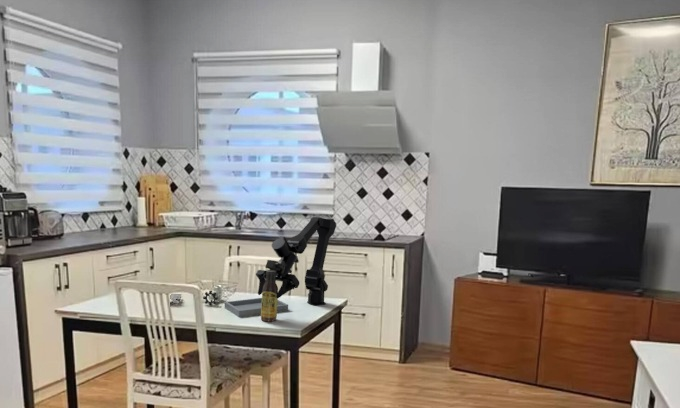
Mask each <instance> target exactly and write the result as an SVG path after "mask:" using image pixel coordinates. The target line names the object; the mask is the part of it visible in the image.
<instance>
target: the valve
mask: <svg viewBox="0 0 680 408" xmlns="http://www.w3.org/2000/svg"><path fill="white" fill-rule="evenodd" d="M204 295H205V296H203V297H202V300H205V301H204V304H205V305H207V304H208V306H212V305H216V304H217V302H222V301H223V300H222V299H223V285H214V286H213V291H212V290H209V293H208V292H207V291H205V292H204ZM213 300H214V301H213Z"/></svg>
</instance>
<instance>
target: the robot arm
mask: <svg viewBox="0 0 680 408" xmlns="http://www.w3.org/2000/svg"><path fill="white" fill-rule="evenodd" d="M336 228H337V222H336V221H335V219H333V218H324V217H323V218H322V217H320V216H313V217H311V218H310V221H309V222H307V224H306V225H305V226H304V227H303V228H302V230H301V231H300V232H299V233H298V234H296V235H295V236H292V237H290V238H289V239H288V240H287V239H286V237H285V236H279V238H276V239H274V241H273V242H272V243H271V248H272V249H273V251H274V252H275V254H276V255H277V257H278V258H280V259H279V260H272V259H267V260H266V265H265V269H267V270H276V282H282V283H281V285H280V288H278V293H277V296H276V297H277V298H278V299H279V298H281V297H282V296H283V295H286V294H287V293H288V292H290V291H292V290H295V289H297V288H298V287H299V286H300V280H299V279H298V278H297V276H296V274H292V270H291V269H292V268H293V266H294V264H295V263H297V264H298V263H299V261H300V260H299V257H298V256H297V255H296V254H298V255H301V254H303V253H304V252H305V250H306V248H307V247H308V245H307V244H308V243H309V242H308V241H309V240H310V239H312V236H314V235H315V233H316V232H317V235H318V238H317V242H316V247H315V252H314V256H313V260H312V265H311V267H310V268H309V269H307V270H306V271H305V276H304V285H305V289H306V290H308V294H307V301H306V303H308V304H310V305H312V306H318V305H319V306H320V305H326V304H327V302H325V292H326V291H327V290H328V288H329V285H328V284H327V282H326V280H325V277H326V275H325V272H324V263H325V261H326V260H325V259H326V255H327V251H328V246H329V241H330V238H332V236H333V235H334V234H335V231H336ZM255 276H256V277H257V279H258V280H259V281H258V282H259V283H258V284H259V285H258V290H257V294H258V296H261V295H262V291H263V286H264V284H265V282H266V270H264V269H257V271H256V273H255Z"/></svg>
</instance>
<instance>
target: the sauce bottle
mask: <svg viewBox="0 0 680 408" xmlns="http://www.w3.org/2000/svg"><path fill="white" fill-rule="evenodd" d="M265 271H266V282H265V284H264V286H263V291H262V293H261V298H262V306H261V314H260V319H261V321H263V322H274V321H276V320H277V317H278V312H277V302H278V300H279V298H277V297H276V296H277V293H278V291H279V286H278V285H277V281H276V270H270V269H266V270H265Z"/></svg>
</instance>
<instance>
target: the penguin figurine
mask: <svg viewBox="0 0 680 408" xmlns="http://www.w3.org/2000/svg"><path fill="white" fill-rule="evenodd" d="M182 298H183V296H182V294H171V295H170V299H171V302H172V303H174V304H175V305H176V304H179V303H180V301H179V300H181V299H182ZM176 299H177V300H176Z"/></svg>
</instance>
